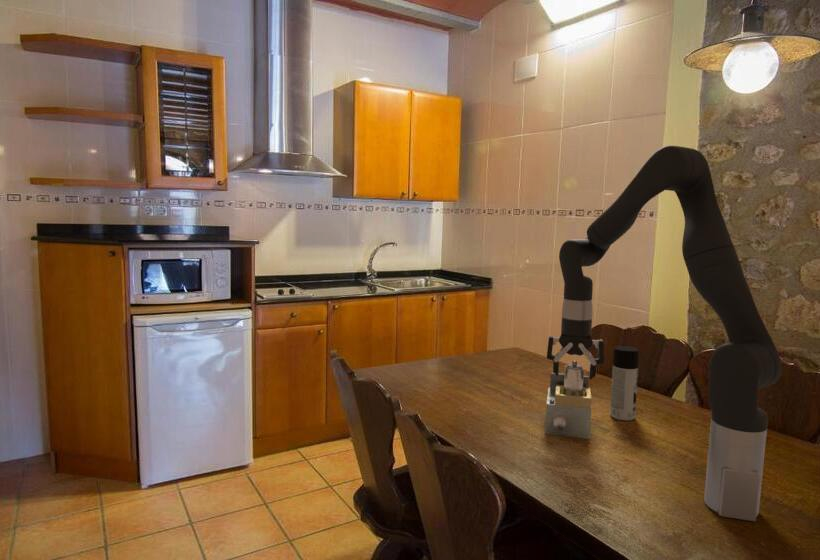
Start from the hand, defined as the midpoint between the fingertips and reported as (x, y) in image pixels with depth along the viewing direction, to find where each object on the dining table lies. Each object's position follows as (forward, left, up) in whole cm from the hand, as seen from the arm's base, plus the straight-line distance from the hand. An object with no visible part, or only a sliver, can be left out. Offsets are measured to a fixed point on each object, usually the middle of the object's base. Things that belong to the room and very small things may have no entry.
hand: (573, 376), depth 140 cm
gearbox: (+1, +1, -14) cm, 14 cm away
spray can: (+14, -14, -15) cm, 25 cm away
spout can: (0, 0, -6) cm, 6 cm away
